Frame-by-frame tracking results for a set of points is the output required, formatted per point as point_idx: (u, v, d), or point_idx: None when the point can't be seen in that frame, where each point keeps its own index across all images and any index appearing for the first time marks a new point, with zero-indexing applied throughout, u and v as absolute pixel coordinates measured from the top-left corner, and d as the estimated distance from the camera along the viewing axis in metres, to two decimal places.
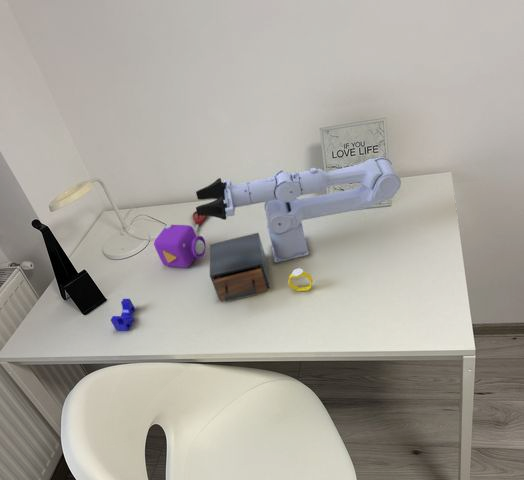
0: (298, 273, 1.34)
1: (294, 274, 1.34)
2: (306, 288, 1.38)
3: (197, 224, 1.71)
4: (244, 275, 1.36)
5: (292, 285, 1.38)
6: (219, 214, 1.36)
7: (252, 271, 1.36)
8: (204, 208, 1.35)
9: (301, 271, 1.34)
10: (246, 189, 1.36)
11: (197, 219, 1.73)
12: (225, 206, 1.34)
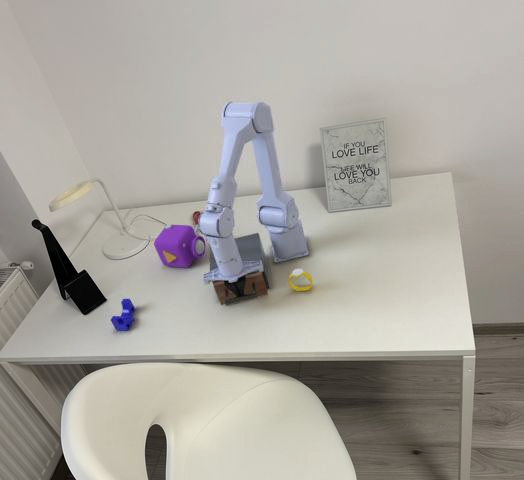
0: (298, 273, 1.34)
1: (294, 274, 1.34)
2: (306, 288, 1.38)
3: (197, 224, 1.71)
4: None
5: (292, 285, 1.38)
6: None
7: (252, 274, 1.35)
8: None
9: (301, 271, 1.34)
10: (234, 260, 1.26)
11: (197, 219, 1.73)
12: (241, 275, 1.30)
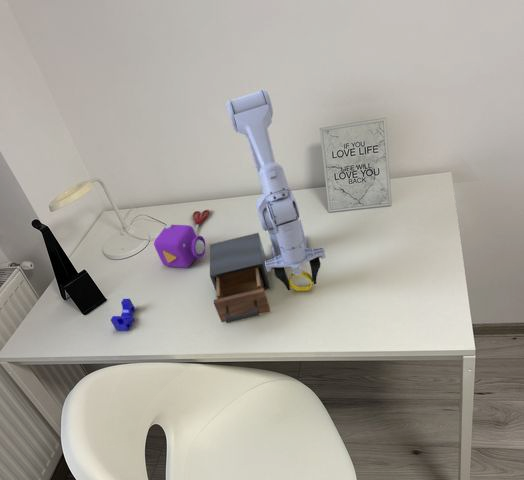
0: (298, 273, 1.34)
1: (294, 274, 1.34)
2: (306, 288, 1.38)
3: (197, 224, 1.71)
4: (246, 295, 1.30)
5: (292, 285, 1.38)
6: None
7: (254, 291, 1.30)
8: None
9: (301, 271, 1.34)
10: (299, 247, 1.27)
11: (197, 219, 1.73)
12: (316, 259, 1.31)
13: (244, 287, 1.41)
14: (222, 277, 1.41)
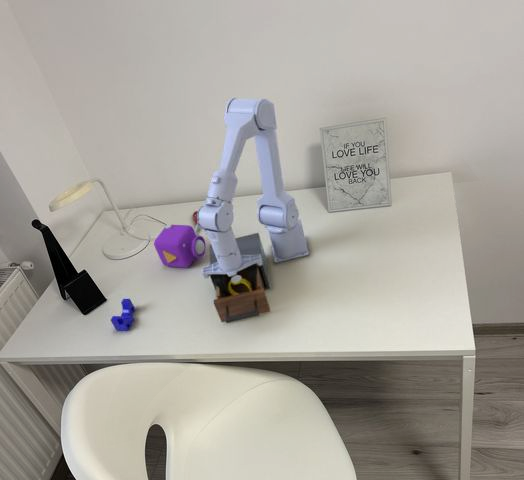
0: (236, 280, 1.33)
1: (232, 281, 1.33)
2: None
3: None
4: (246, 295, 1.30)
5: (232, 292, 1.37)
6: None
7: (254, 291, 1.30)
8: None
9: (239, 278, 1.34)
10: (234, 254, 1.26)
11: None
12: (253, 266, 1.31)
13: (244, 287, 1.41)
14: None
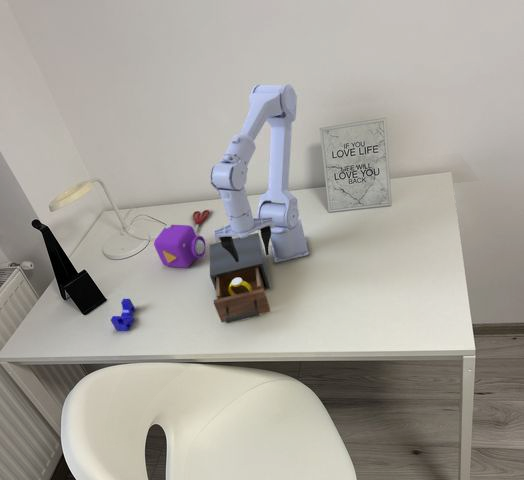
0: (237, 282, 1.34)
1: (233, 284, 1.34)
2: None
3: (197, 224, 1.71)
4: (246, 296, 1.30)
5: (233, 294, 1.38)
6: None
7: (254, 291, 1.30)
8: (267, 247, 1.34)
9: (240, 280, 1.34)
10: (246, 215, 1.26)
11: (197, 219, 1.73)
12: (267, 228, 1.30)
13: (244, 287, 1.41)
14: (222, 277, 1.41)
